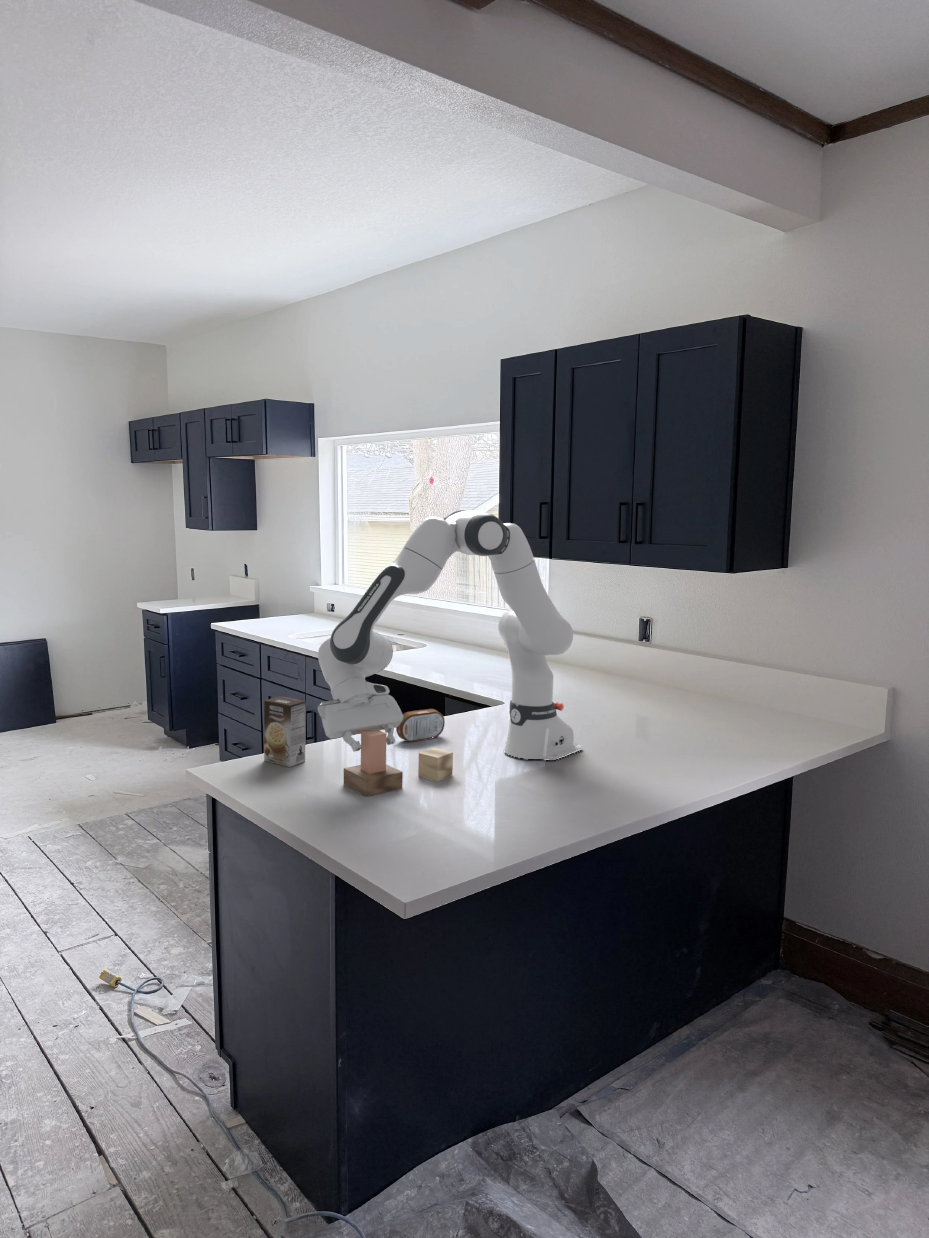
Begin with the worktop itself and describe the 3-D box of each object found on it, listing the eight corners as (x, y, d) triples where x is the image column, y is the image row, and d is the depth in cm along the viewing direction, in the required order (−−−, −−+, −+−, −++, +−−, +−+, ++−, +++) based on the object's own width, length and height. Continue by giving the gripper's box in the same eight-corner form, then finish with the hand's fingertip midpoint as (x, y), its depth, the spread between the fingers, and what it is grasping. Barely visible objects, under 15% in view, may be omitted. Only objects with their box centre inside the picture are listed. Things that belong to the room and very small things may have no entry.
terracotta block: (376, 766, 203) (377, 729, 202) (385, 770, 200) (386, 733, 199) (360, 769, 200) (361, 732, 199) (369, 773, 197) (370, 736, 196)
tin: (440, 734, 247) (440, 706, 246) (446, 737, 244) (446, 708, 243) (395, 742, 238) (395, 712, 237) (401, 744, 236) (401, 715, 235)
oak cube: (433, 770, 214) (433, 747, 213) (452, 775, 210) (452, 752, 210) (418, 776, 209) (418, 752, 208) (437, 781, 206) (438, 757, 205)
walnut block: (378, 776, 208) (379, 761, 207) (402, 788, 200) (402, 771, 199) (343, 784, 201) (343, 768, 201) (366, 796, 194) (366, 779, 193)
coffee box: (262, 761, 218) (262, 699, 215) (280, 755, 223) (279, 695, 221) (289, 767, 213) (289, 705, 211) (306, 761, 218) (307, 700, 216)
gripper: (319, 695, 197) (341, 746, 190) (393, 685, 209) (415, 733, 203) (310, 710, 201) (331, 760, 194) (382, 699, 213) (404, 746, 207)
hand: (375, 746), depth 199 cm, fingers open, 8 cm apart
